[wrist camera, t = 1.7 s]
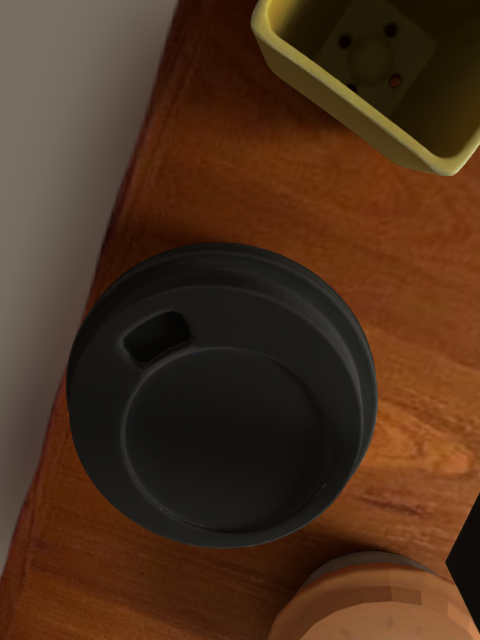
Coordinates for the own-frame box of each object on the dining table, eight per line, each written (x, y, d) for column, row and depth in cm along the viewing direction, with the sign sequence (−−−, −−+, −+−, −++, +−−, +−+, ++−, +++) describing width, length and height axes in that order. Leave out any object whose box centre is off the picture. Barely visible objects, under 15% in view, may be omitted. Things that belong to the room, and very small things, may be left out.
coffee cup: (220, 186, 24) (143, 170, 9) (355, 276, 25) (476, 388, 10) (141, 319, 26) (-14, 466, 12) (266, 396, 27) (262, 620, 13)
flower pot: (498, 34, 21) (661, -83, 12) (384, 187, 23) (452, 182, 14) (356, -81, 20) (422, -295, 11) (253, 92, 22) (242, 25, 14)
